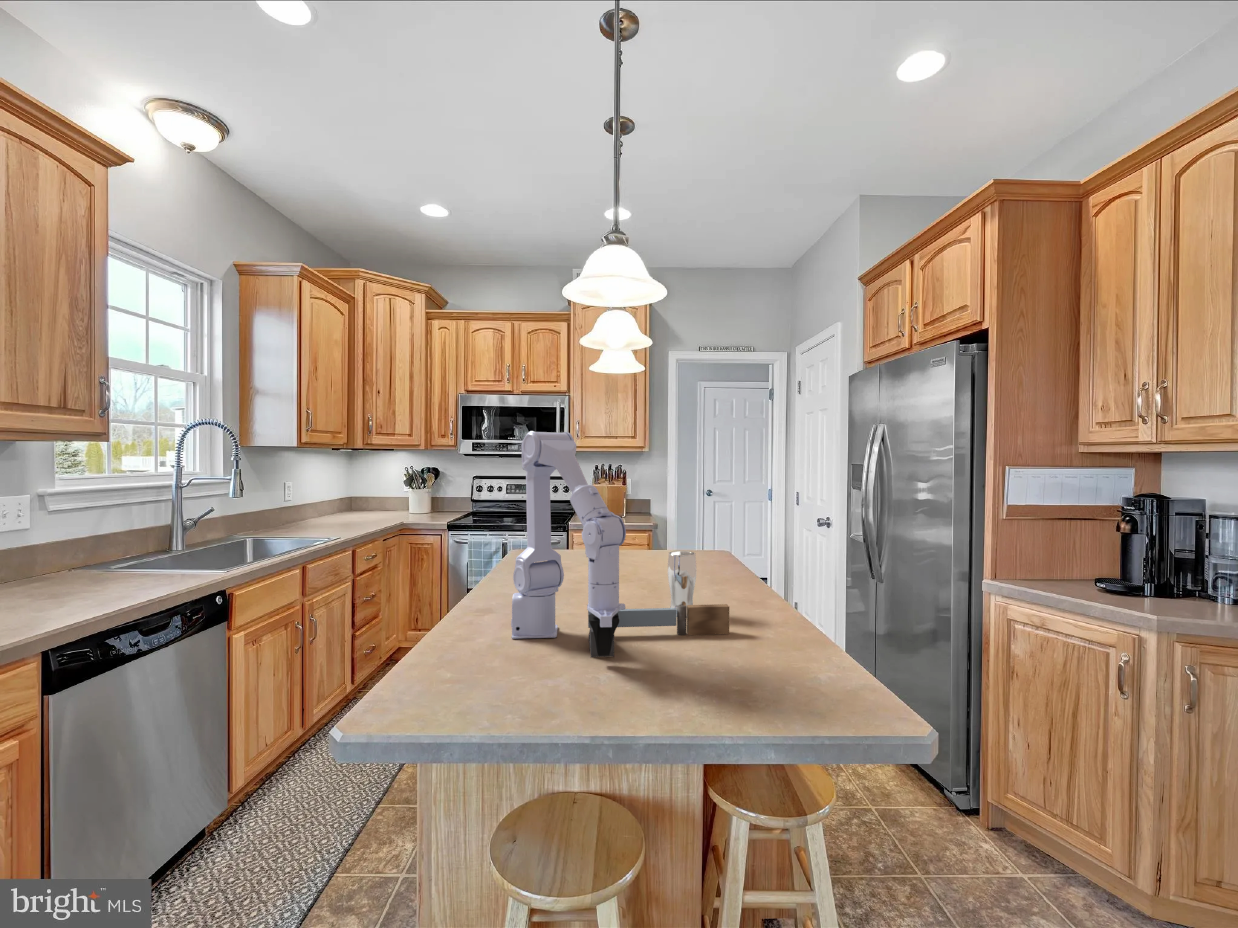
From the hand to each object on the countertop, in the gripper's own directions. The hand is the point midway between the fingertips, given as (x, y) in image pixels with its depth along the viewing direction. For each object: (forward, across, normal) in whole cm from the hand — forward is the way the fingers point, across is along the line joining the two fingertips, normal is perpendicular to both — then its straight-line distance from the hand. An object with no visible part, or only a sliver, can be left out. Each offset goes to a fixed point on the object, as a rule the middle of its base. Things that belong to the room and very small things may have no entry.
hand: (603, 654), depth 107 cm
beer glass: (+2, +32, -21) cm, 38 cm away
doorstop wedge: (+2, +9, 0) cm, 9 cm away
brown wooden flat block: (+2, +17, -23) cm, 28 cm away
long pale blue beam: (0, +17, -7) cm, 18 cm away
